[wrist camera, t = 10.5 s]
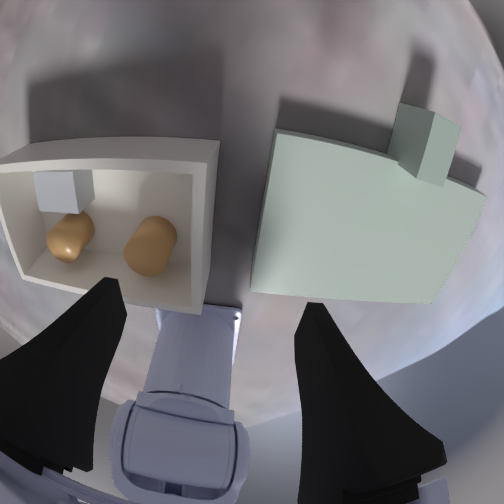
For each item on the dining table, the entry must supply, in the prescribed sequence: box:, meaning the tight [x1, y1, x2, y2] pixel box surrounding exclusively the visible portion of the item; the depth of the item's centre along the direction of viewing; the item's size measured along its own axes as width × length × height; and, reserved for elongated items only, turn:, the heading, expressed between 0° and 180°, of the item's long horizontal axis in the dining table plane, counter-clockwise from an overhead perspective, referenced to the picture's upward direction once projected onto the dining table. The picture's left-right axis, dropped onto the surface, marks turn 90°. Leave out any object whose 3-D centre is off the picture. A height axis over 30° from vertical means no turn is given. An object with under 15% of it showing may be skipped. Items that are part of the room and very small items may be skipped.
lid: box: [250, 103, 487, 304], centre depth 16 cm, size 15×18×4 cm
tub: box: [0, 137, 220, 315], centre depth 16 cm, size 10×16×5 cm, turn 83°
